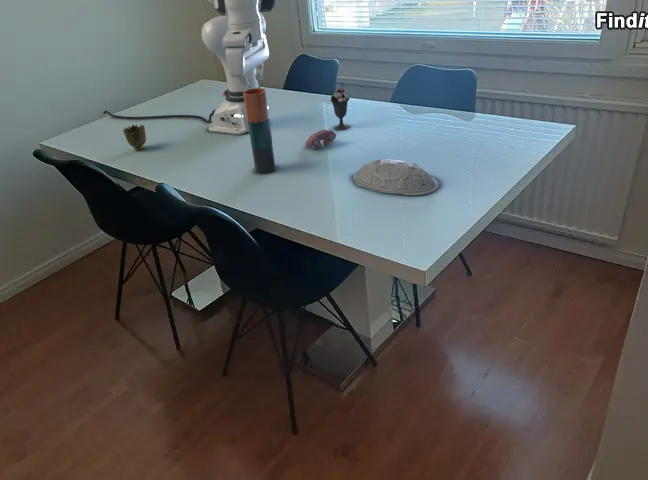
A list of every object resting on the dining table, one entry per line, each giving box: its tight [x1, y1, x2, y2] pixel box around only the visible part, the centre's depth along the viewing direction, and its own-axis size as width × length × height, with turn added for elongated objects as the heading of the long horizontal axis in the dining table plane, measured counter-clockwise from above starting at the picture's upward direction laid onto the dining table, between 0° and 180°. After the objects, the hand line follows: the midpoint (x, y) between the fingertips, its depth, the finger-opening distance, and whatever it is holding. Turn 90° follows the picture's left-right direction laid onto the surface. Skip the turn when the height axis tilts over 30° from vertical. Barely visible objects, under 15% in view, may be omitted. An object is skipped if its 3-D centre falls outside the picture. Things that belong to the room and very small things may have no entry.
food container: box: [352, 158, 440, 196], centre depth 152 cm, size 16×25×7 cm, turn 52°
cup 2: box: [122, 124, 147, 152], centre depth 194 cm, size 8×7×8 cm
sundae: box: [329, 82, 350, 131], centre depth 190 cm, size 7×7×15 cm
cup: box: [243, 87, 270, 123], centre depth 159 cm, size 6×6×8 cm
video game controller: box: [304, 128, 337, 149], centre depth 179 cm, size 10×5×7 cm, turn 118°
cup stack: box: [247, 117, 277, 175], centre depth 165 cm, size 6×6×16 cm
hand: (253, 84), depth 155 cm, fingers open, 8 cm apart
